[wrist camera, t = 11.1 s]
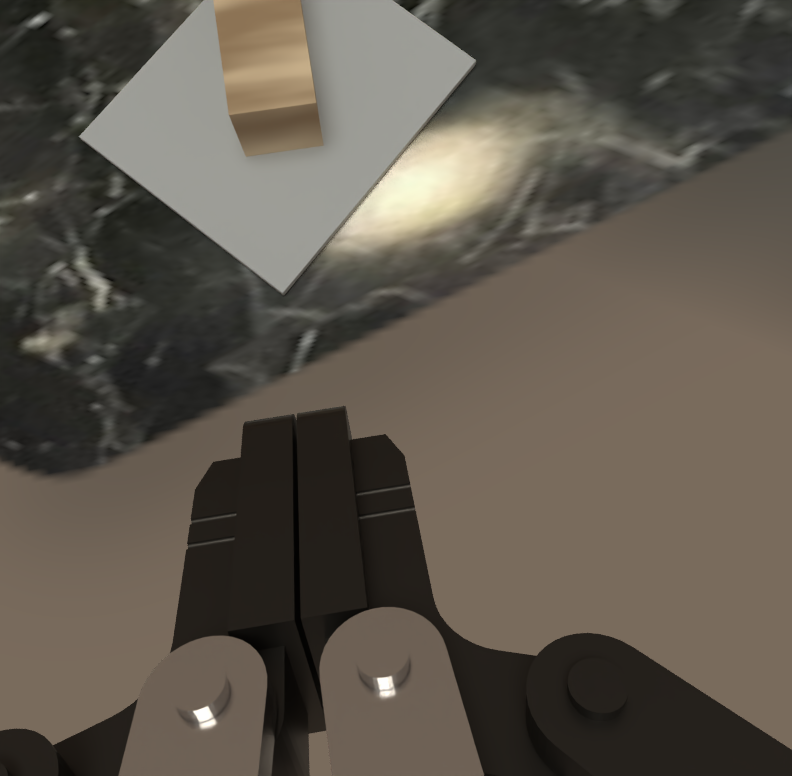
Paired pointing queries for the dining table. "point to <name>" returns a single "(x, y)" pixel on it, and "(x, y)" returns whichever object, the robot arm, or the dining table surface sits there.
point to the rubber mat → (288, 170)
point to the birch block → (268, 75)
